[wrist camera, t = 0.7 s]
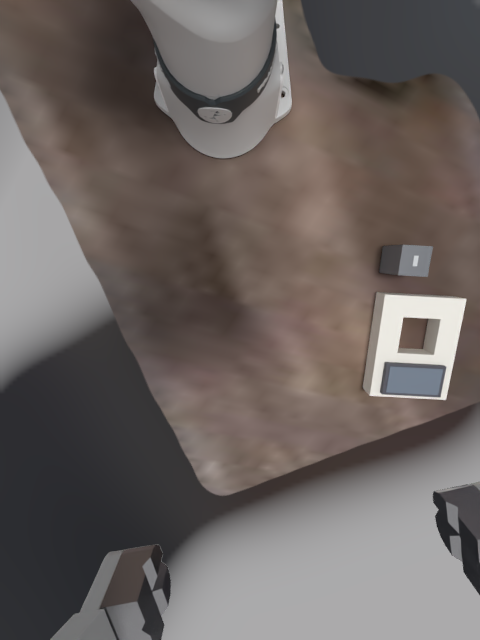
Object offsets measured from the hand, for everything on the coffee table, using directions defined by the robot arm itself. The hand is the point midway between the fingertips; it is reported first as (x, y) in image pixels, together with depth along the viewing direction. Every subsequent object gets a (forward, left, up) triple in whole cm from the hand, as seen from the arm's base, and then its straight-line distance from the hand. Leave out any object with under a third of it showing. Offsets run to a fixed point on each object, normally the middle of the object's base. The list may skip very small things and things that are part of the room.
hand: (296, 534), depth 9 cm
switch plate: (+5, +25, -41) cm, 48 cm away
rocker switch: (-8, +21, -41) cm, 47 cm away
